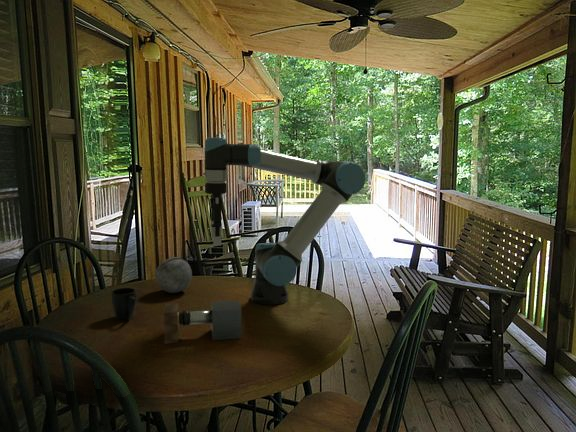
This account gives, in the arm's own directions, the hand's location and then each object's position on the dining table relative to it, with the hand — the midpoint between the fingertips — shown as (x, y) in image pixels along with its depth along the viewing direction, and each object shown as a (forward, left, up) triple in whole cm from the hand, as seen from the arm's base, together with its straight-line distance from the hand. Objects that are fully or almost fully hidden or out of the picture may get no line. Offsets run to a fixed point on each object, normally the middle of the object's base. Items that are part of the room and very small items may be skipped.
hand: (216, 241), depth 159 cm
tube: (+8, +19, -23) cm, 31 cm away
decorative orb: (+16, -29, -27) cm, 43 cm away
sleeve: (-2, +19, -27) cm, 33 cm away
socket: (+15, +19, -27) cm, 36 cm away
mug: (+31, -1, -27) cm, 41 cm away
